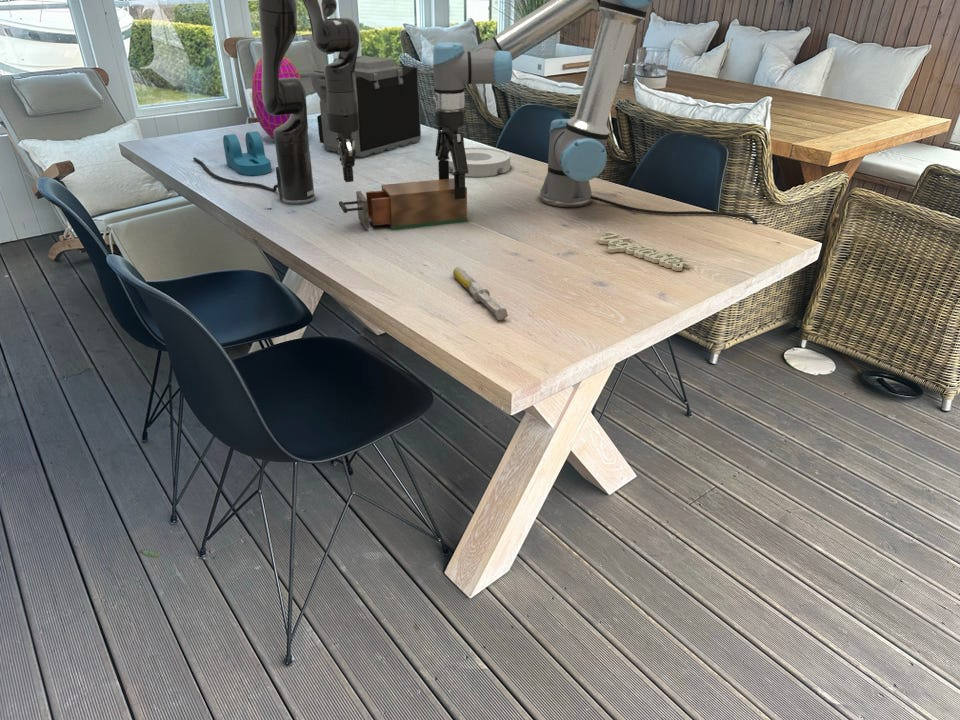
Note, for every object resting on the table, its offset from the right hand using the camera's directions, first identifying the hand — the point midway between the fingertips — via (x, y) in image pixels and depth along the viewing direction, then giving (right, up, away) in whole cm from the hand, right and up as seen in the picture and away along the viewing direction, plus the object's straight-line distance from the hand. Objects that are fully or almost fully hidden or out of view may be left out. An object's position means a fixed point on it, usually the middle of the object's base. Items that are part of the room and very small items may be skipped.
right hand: (451, 191), depth 186 cm
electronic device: (-33, +35, +72) cm, 87 cm away
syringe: (+7, -32, -41) cm, 52 cm away
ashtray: (+6, +20, +48) cm, 52 cm away
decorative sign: (+46, -20, -19) cm, 54 cm away
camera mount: (-69, +18, +44) cm, 83 cm away
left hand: (-26, 0, -11) cm, 28 cm away
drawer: (-17, -8, -2) cm, 19 cm away
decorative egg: (-68, +39, +79) cm, 111 cm away
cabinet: (-7, -7, +1) cm, 11 cm away
